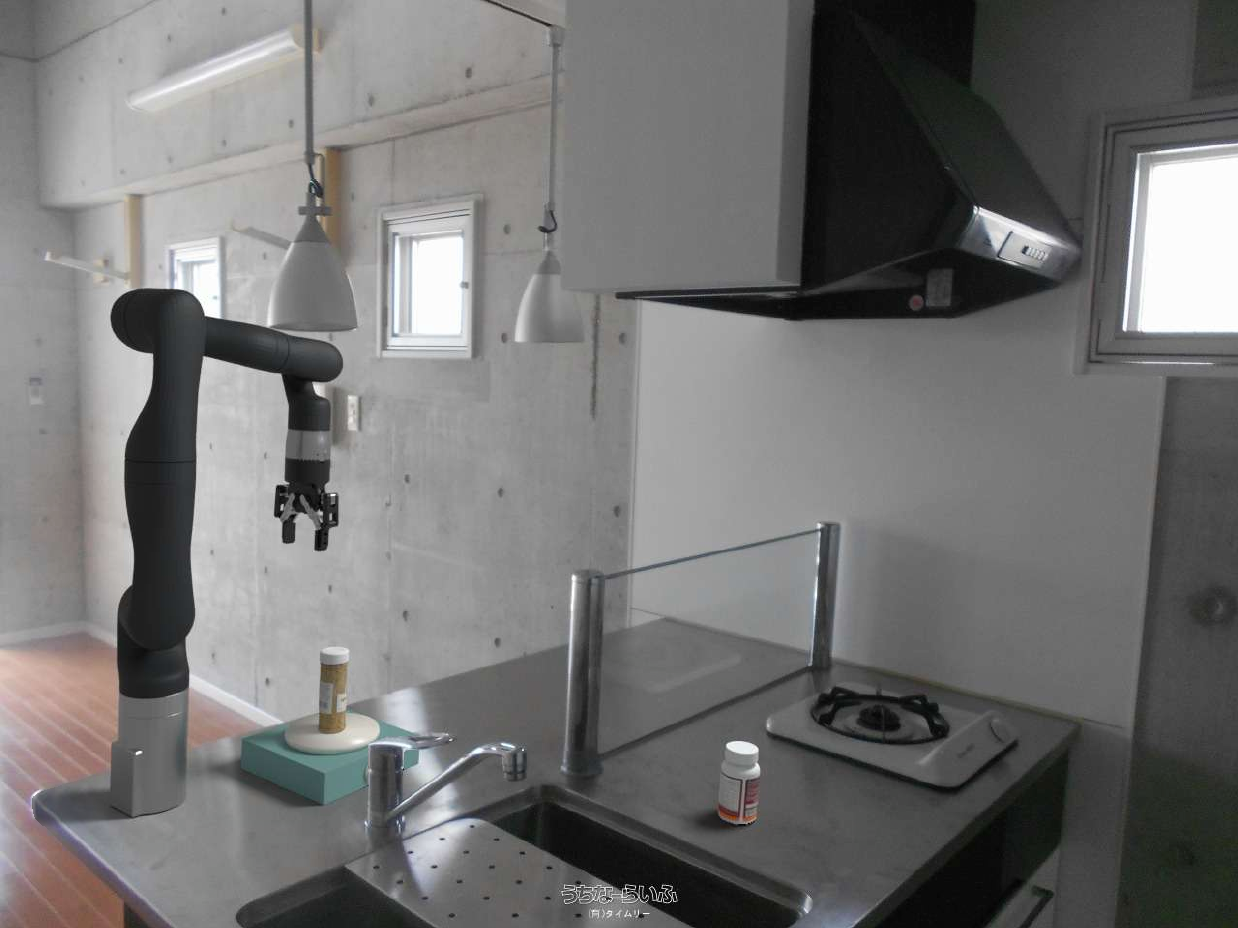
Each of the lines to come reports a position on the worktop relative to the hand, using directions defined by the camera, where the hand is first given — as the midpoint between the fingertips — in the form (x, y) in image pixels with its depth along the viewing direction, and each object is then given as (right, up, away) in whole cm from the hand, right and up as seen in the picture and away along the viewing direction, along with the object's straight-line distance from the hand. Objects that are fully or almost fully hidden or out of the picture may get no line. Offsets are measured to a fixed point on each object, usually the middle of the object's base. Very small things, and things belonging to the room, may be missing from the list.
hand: (304, 546), depth 160 cm
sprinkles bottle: (+8, -30, -10) cm, 32 cm away
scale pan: (+8, -31, -10) cm, 33 cm away
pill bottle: (+74, -41, -17) cm, 86 cm away
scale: (+8, -36, -9) cm, 38 cm away
